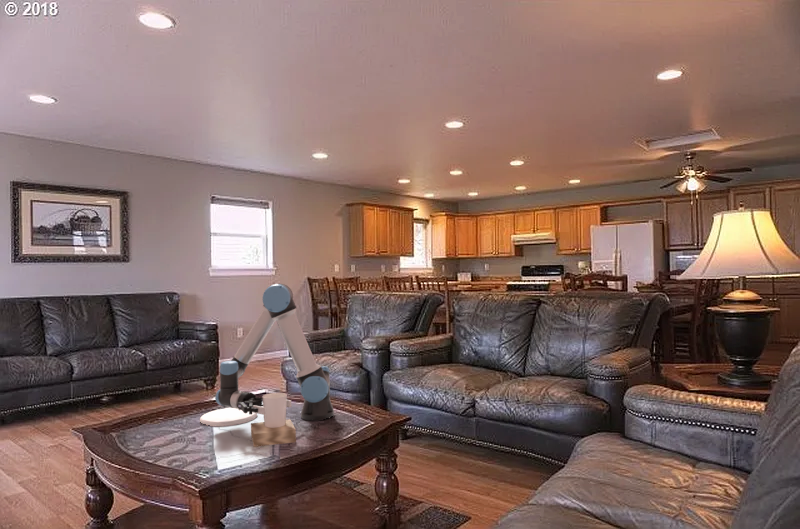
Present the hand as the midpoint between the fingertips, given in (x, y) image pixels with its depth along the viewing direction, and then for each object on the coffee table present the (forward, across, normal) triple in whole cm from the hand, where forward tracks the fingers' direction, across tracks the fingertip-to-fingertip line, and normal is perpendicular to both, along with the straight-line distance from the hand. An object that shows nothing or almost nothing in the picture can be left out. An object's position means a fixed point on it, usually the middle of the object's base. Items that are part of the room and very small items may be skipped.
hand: (278, 407), depth 218 cm
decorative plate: (-45, -10, -14) cm, 48 cm away
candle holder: (-4, -2, -8) cm, 9 cm away
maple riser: (-3, 0, -13) cm, 13 cm away
